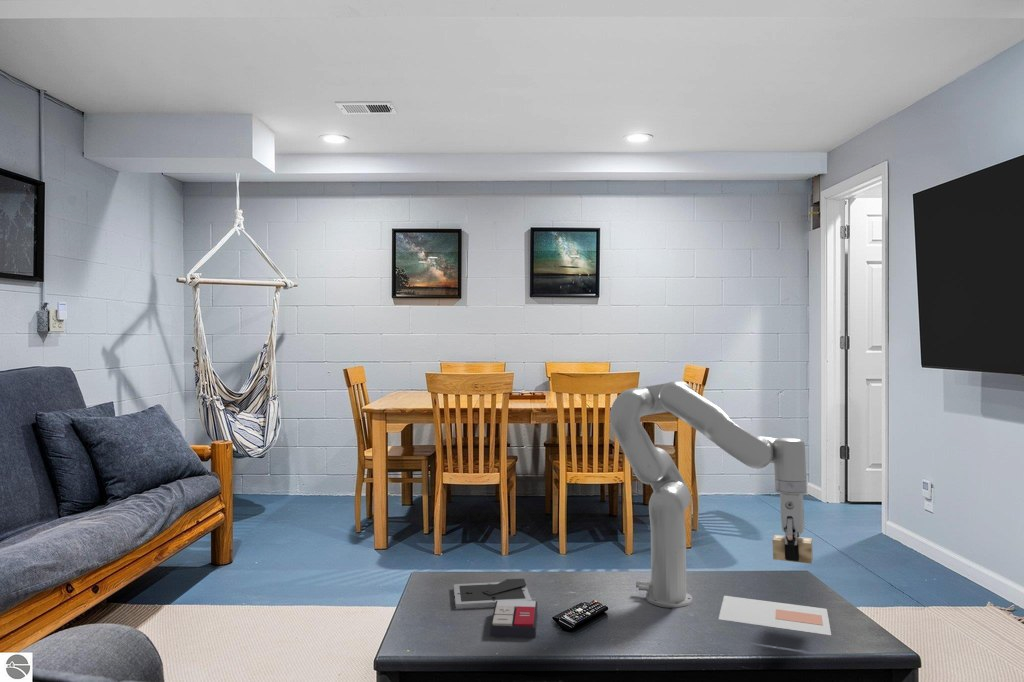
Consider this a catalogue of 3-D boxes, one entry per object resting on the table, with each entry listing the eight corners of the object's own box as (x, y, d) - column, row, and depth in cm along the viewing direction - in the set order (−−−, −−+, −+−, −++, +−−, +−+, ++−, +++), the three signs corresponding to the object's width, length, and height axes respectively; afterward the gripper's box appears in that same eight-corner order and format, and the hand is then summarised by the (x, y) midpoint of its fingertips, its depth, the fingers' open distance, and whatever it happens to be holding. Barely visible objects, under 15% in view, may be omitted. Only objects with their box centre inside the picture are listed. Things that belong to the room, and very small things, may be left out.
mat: (718, 621, 167) (718, 618, 167) (724, 597, 183) (724, 595, 183) (831, 637, 157) (831, 634, 157) (826, 610, 174) (826, 608, 174)
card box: (812, 557, 169) (812, 537, 169) (811, 563, 164) (810, 543, 164) (775, 553, 173) (774, 534, 173) (773, 559, 168) (772, 539, 169)
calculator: (489, 623, 158) (495, 597, 173) (490, 640, 158) (496, 613, 173) (535, 624, 157) (537, 598, 172) (535, 642, 157) (537, 614, 172)
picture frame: (523, 588, 193) (453, 591, 191) (523, 578, 194) (453, 581, 191) (532, 608, 178) (455, 612, 175) (532, 597, 178) (455, 601, 175)
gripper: (804, 493, 160) (806, 568, 159) (808, 481, 175) (810, 550, 175) (771, 491, 164) (773, 564, 163) (778, 480, 179) (780, 546, 178)
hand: (793, 556), depth 169 cm, fingers closed on card box, 5 cm apart
